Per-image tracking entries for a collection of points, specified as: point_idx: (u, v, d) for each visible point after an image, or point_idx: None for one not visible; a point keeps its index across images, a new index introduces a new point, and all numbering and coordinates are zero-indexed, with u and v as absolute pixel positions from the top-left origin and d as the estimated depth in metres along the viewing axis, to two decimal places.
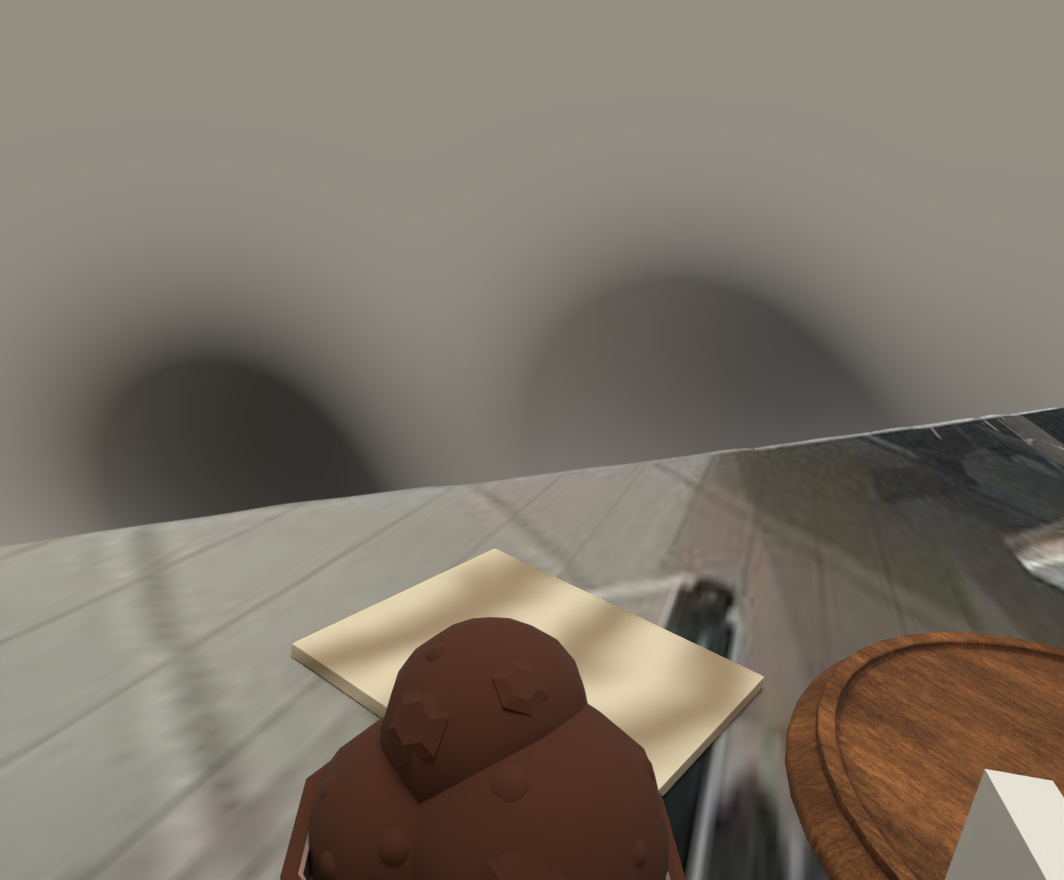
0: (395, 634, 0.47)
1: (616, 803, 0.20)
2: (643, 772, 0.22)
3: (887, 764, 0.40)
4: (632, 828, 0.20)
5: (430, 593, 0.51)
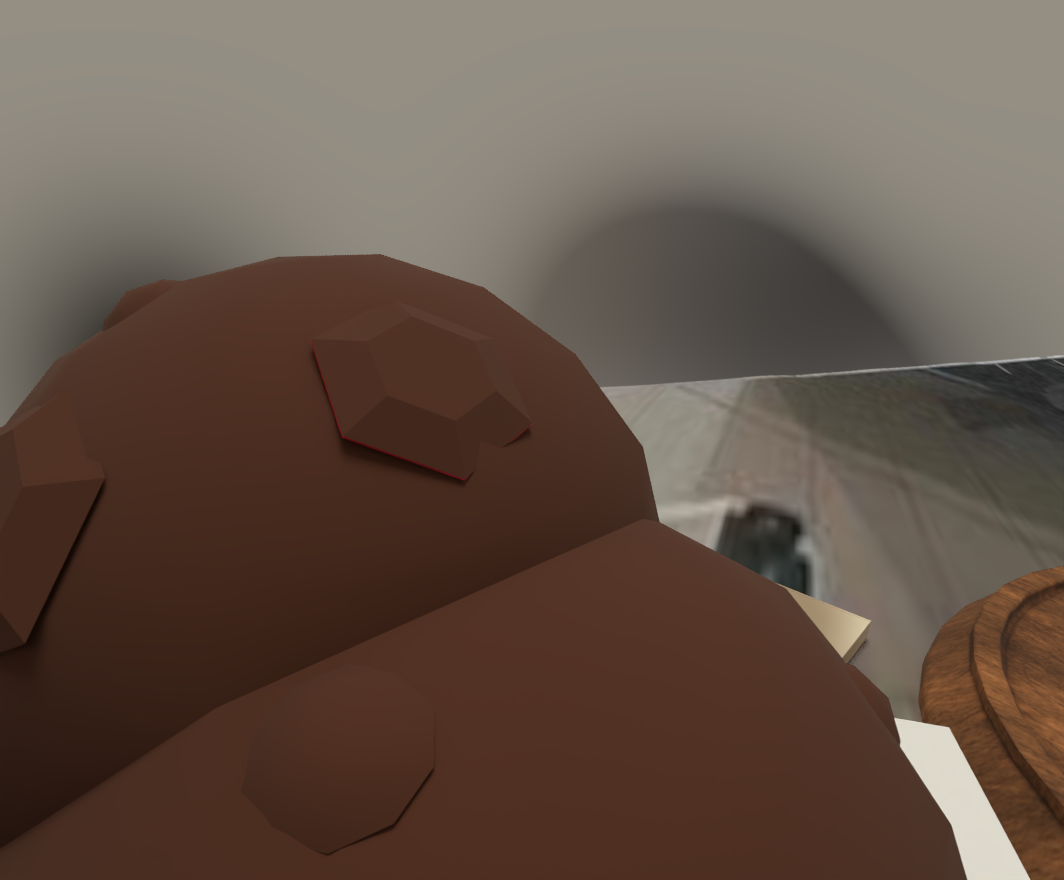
0: None
1: (843, 850, 0.04)
2: (882, 724, 0.06)
3: None
4: None
5: None
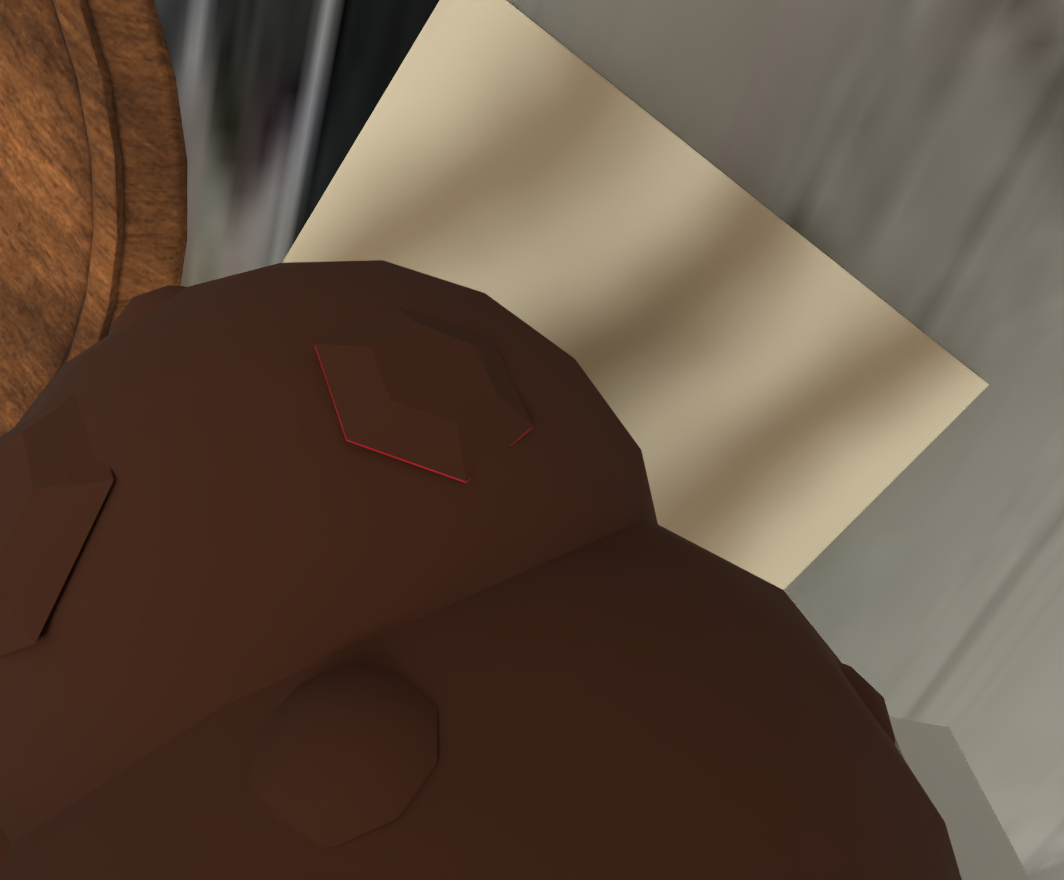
0: (806, 439, 0.27)
1: (839, 844, 0.05)
2: (876, 723, 0.06)
3: (29, 194, 0.26)
4: None
5: (752, 570, 0.28)
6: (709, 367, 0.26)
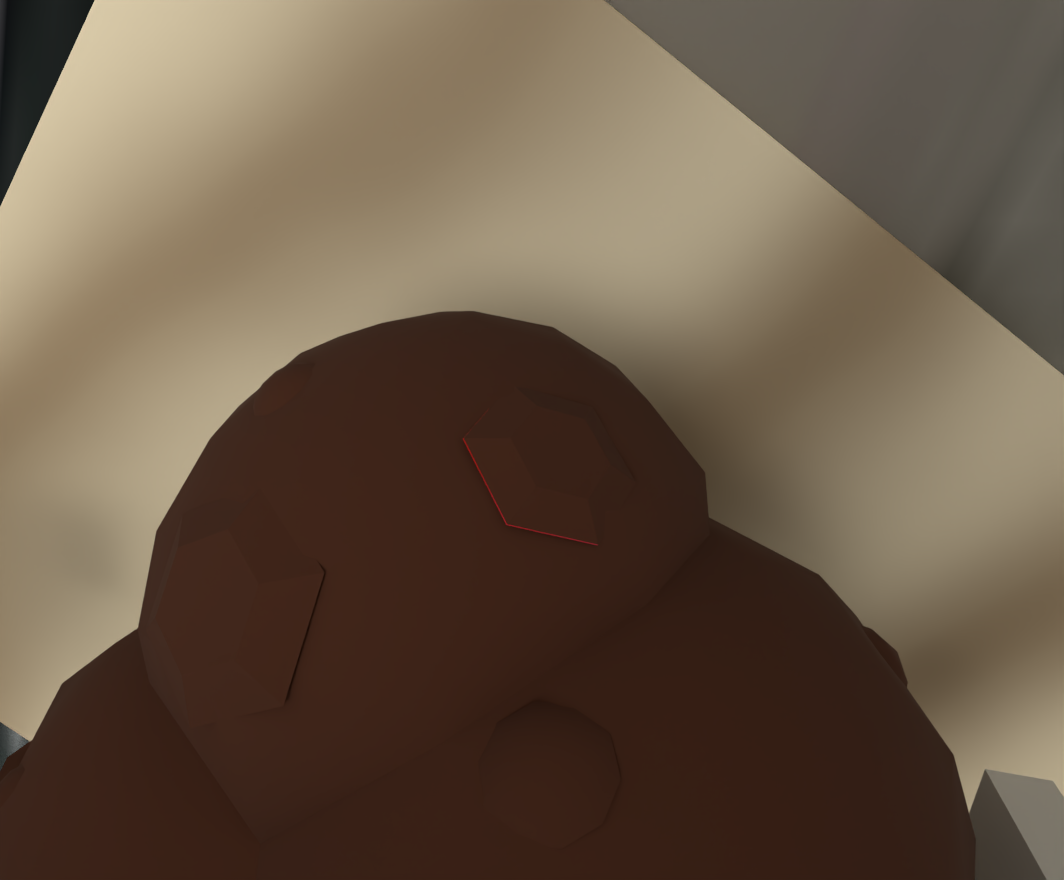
0: (957, 693, 0.14)
1: (895, 798, 0.06)
2: (899, 680, 0.08)
3: None
4: (942, 865, 0.06)
5: None
6: None
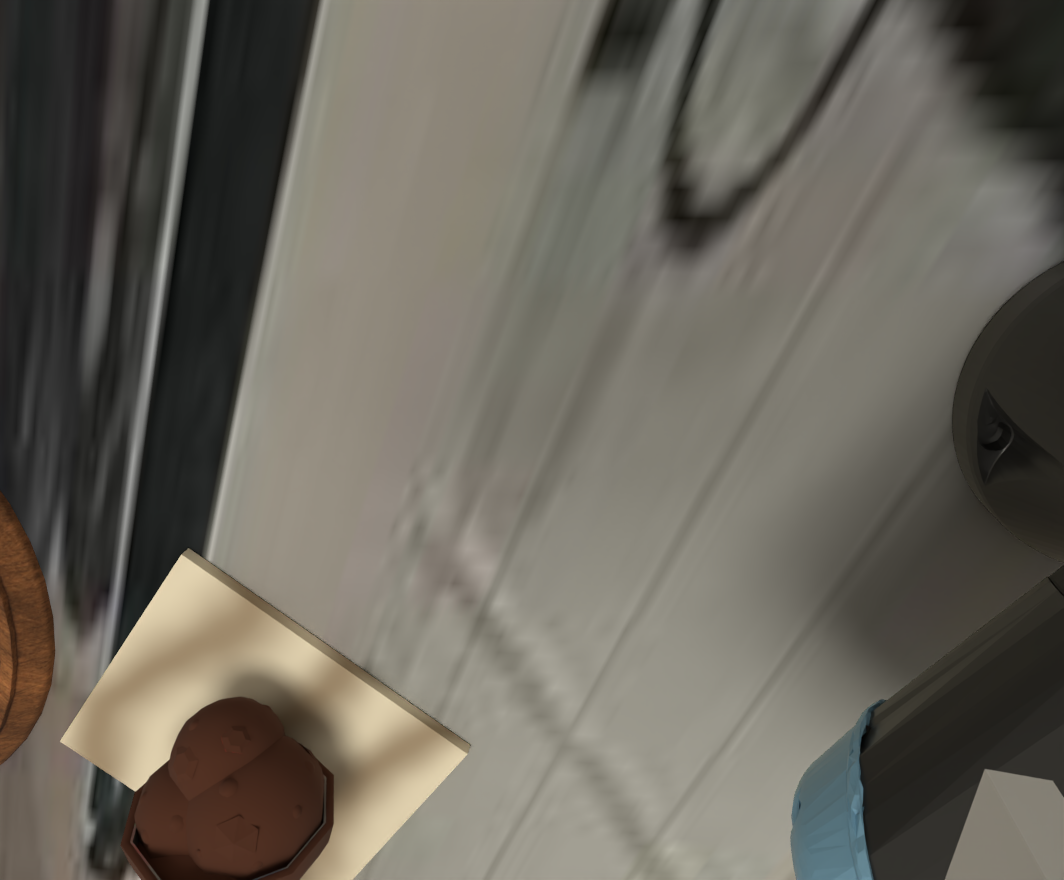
0: (382, 773, 0.50)
1: (284, 790, 0.43)
2: (305, 771, 0.44)
3: None
4: (292, 800, 0.43)
5: (366, 834, 0.52)
6: (328, 737, 0.49)
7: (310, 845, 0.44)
